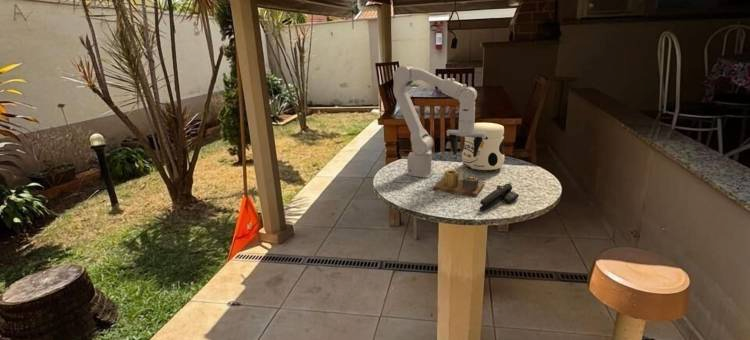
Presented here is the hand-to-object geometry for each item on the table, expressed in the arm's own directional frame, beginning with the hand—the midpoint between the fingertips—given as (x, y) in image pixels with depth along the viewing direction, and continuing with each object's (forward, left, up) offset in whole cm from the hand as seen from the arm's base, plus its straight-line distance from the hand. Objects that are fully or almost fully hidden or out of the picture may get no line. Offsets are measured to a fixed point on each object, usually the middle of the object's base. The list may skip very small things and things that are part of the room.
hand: (465, 155), depth 149 cm
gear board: (+1, -10, -10) cm, 14 cm away
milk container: (+3, +17, -10) cm, 20 cm away
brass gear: (-2, -11, -9) cm, 14 cm away
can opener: (+16, -19, -10) cm, 27 cm away
